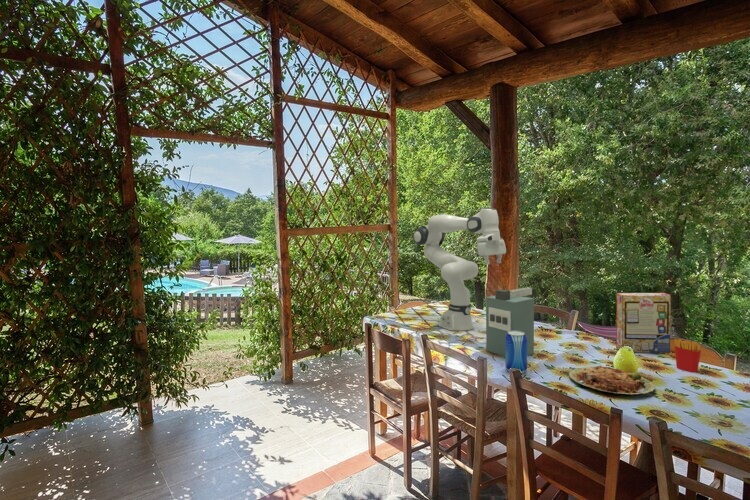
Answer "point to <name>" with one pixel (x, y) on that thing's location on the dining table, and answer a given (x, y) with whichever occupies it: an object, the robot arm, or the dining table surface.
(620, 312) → the board game box
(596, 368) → the rice dish
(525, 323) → the switch cabinet
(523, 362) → the beer can
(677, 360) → the french fries
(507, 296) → the lever bar
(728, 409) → the dining table surface
